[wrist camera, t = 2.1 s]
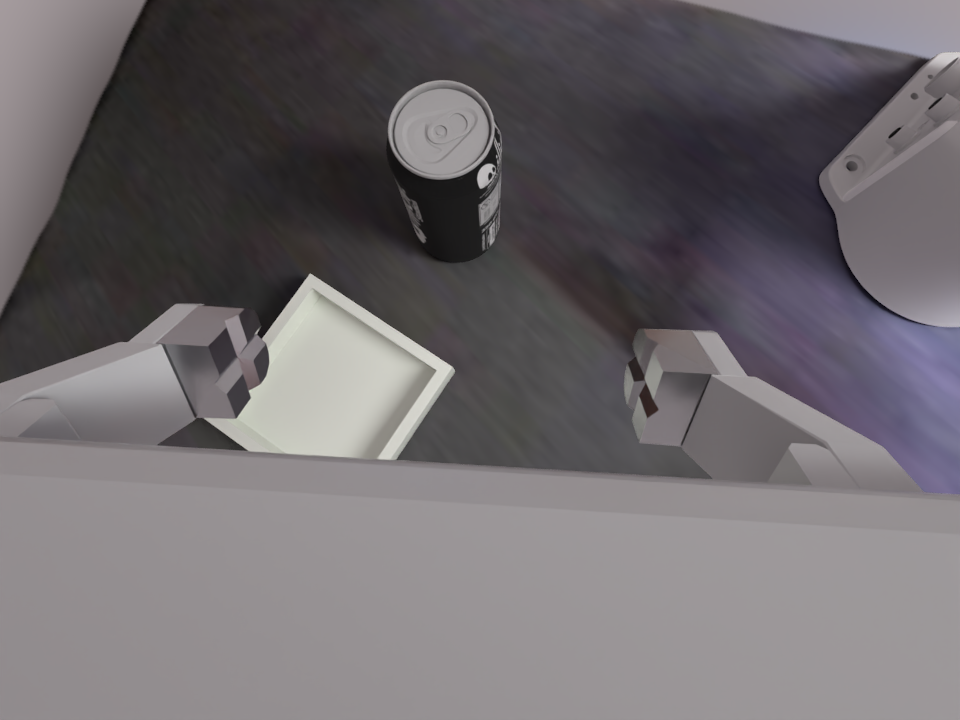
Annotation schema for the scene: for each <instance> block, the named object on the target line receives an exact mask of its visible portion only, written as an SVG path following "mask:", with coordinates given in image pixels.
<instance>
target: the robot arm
mask: <svg viewBox="0 0 960 720" xmlns="http://www.w3.org/2000/svg"><path fill="white" fill-rule="evenodd" d="M847 167H848V168H849V169H850V171H849V170H848V169H847ZM819 184H820V187H821V189H822V192H823V193H824V195H825V197H826V199H827V201H828V202H829V204H830V205H831V207H832V209H833V210H834V212H835V216H836V220H837V226H838V234H839V240H840V245H841V248H842V251H843V254H844V257H845V259H846V261H847V264H848V265H849V267H850V269H851V271H852V272H853V274H854V276H855V277H856V278H857V280H858V281H859V282H860V284H861V285H862V286H863V287H864V288H865V289H866V290H867V291H868V292H869V293H870V294H871V295H872V296H873V297H874V298H875V299H876V300H877V301H879V302H880V303H881V304H883V305H884V306H886V307H887V308H889V309H890V310H892V311H893V312H895V313H897V314H899V315H901V316H903V317H906V318H908V319H911V320H913V321H916V322H920V323H923V324H927V325H933V326H940V327H960V52H944V53H940V54H938V55H936V56H935V57H933V58H932V59H930V60H929V61H928V62H927V63H925V64H924V65H923V66H922V67H921V68H920V69H919V70H918V71H917V72H916V73H915V74H914V75H913V76H912V77H911V78H910V79H909V80H908V82H907V83H906V84H905V85H904V86H903V87H902V88H901V89H900V90H899V91H898V92H897V93H896V94H895V95H894V96H893V97H892V98H891V99H890V100H889V102H888V103H887V104H886V105H885V106H884V107H883V108H882V109H881V110H880V111H879V112H878V113H877V114H876V115H875V116H874V117H873V118H872V119H871V121H870V122H869V123H868V124H867V125H866V126H865V127H864V128H863V129H862V130H861V131H860V132H859V133H858V134H857V135H856V136H855V137H854V138H853V139H852V141H851V142H850V143H849V144H848V145H847V146H846V147H845V148H844V149H843V150H842V151H841V152H840V153H839V154H838V155H837V156H836V157H835V158H834V159H833V161H832V162H831V163H830V164H829V165H828V166H827V167H826V168H825V169H824V170H823V171H822V173H821V174H820V177H819ZM260 327H261V324H260V321H259V318H258V316H257V313H256V312H255V311H254V310H253V309H251V308H247V307H233V306H220V305H204V304H189V303H181V304H175V305H174V306H172V307H171V308H170V309H169V310H167V311H166V312H165V313H164V314H162V315H161V316H160V317H159V318H157V319H156V320H155V321H154V322H152V323H151V324H150V325H149V326H147V327H146V328H145V329H144V330H142V331H141V332H140V333H139V334H137V335H136V336H135V337H134V338H132V339H131V340H130V341H129V342H118V343H116V344H113V345H110V346H107V347H104V348H101V349H98V350H95V351H93V352H90V353H87V354H84V355H81V356H78V357H75V358H72V359H69V360H67V361H64V362H61V363H58V364H55V365H52V366H49V367H46V368H43V369H41V370H38V371H35V372H32V373H29V374H26V375H23V376H20V377H18V378H15V379H12V380H9V381H6V382H3V383H0V720H960V494H943V493H927V492H923V491H922V490H921V489H920V487H919V486H918V485H917V484H916V483H915V482H914V481H913V480H912V479H911V477H910V476H909V475H908V474H907V473H906V472H905V471H904V470H903V468H902V467H901V466H900V465H899V464H898V463H897V462H896V461H895V460H894V458H893V457H892V456H891V455H890V454H889V453H888V452H887V451H886V450H885V448H884V447H882V446H880V445H879V444H877V443H875V442H873V441H871V440H869V439H868V438H866V437H864V436H862V435H860V434H859V433H857V432H855V431H853V430H851V429H849V428H848V427H846V426H844V425H842V424H840V423H838V422H837V421H835V420H833V419H831V418H829V417H828V416H826V415H824V414H822V413H820V412H818V411H817V410H815V409H813V408H811V407H809V406H807V405H806V404H804V403H802V402H800V401H798V400H797V399H795V398H793V397H791V396H789V395H787V394H786V393H784V392H782V391H780V390H778V389H776V388H775V387H773V386H771V385H769V384H767V383H766V382H764V381H762V380H760V379H758V378H756V377H748V376H747V375H746V374H745V372H744V371H743V369H742V368H741V366H740V365H739V364H738V362H737V361H736V359H735V358H734V356H733V355H732V354H731V352H730V351H729V349H728V348H727V346H726V345H725V344H724V342H723V341H722V339H721V338H720V336H719V335H718V333H716V332H714V331H698V330H663V329H639V330H638V332H637V333H636V335H635V338H634V342H633V345H632V347H633V349H634V352H635V355H636V357H634V358H633V359H632V360H631V361H630V362H629V363H628V364H627V368H626V372H625V377H624V394H625V399H626V403H627V406H629V407H630V408H631V409H633V410H634V415H633V418H632V422H633V425H634V428H635V431H636V434H637V437H638V440H639V443H647V444H659V445H671V446H682V449H683V450H684V451H685V452H686V453H687V454H688V455H689V456H690V457H691V458H692V459H693V460H694V461H695V462H696V463H697V464H698V465H699V466H700V467H701V468H702V469H703V470H704V471H706V472H707V473H708V474H709V475H710V476H711V477H712V478H713V479H698V478H682V477H665V476H649V475H632V474H616V473H600V472H583V471H567V470H550V469H534V468H517V467H501V466H484V465H468V464H451V463H435V462H419V461H402V460H386V459H369V458H353V457H337V456H320V455H304V454H288V453H271V452H255V451H239V450H222V449H206V448H190V447H173V446H157V444H159V443H160V442H162V441H163V440H165V439H166V438H168V437H169V436H171V435H172V434H174V433H175V432H177V431H179V430H180V429H182V428H183V427H185V426H186V425H188V424H189V423H191V422H192V421H194V420H195V418H223V419H236V418H237V417H238V416H239V414H240V413H241V411H242V410H243V409H244V407H245V406H246V404H247V403H248V402H249V400H250V399H251V396H250V393H249V390H251V389H253V388H255V387H257V386H259V385H260V384H261V383H262V382H263V380H264V379H265V377H266V375H267V371H268V367H269V352H268V348H267V345H266V343H265V342H264V341H263V340H262V339H261V338H260V337H259V336H258V335H257V333H258V331H259V329H260Z"/></svg>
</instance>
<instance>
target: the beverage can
mask: <svg viewBox="0 0 960 720" xmlns="http://www.w3.org/2000/svg"><path fill="white" fill-rule="evenodd" d="M386 151H387V158H388V162H389V165H390V168H391V170H392V173H393V176H394V178H395V181H396V183H397V186H398V188H399V191H400V193H401V196H402V199H403V201H404V204H405V206H406V209H407V211H408V214H409V216H410V219H411V222H412V224H413V227H414V229H415V232H416V234H417V237H418V239H419V241H420V243H421V245H422V246H423V247H424V248H425V249H426V250H427V251H428V252H429V253H430V254H431V255H433V256H434V257H436V258H438V259H441V260H443V261H447V262H455V263H457V262H466V261H470V260H473V259H475V258H477V257H479V256H480V255H482V254H483V253H485V252H486V251H487V250H488V249H489V248H490V247H491V245H492V244H493V242H494V241H495V239H496V237H497V234H498V231H499V225H500V196H501V164H502V138H501V133H500V130H499V127H498V125H497V123H496V121H495V119H494V117H493V114H492V112H491V109H490V107H489V105H488V103H487V102H486V101H485V99H484V98H483V97H482V96H481V95H480V94H479V93H478V92H477V91H475V90H474V89H472V88H471V87H469V86H467V85H464V84H462V83H459V82H455V81H449V80H438V81H431V82H426V83H424V84H421V85H419V86H417V87H415V88H413V89H411V90H410V91H408V92H407V93H406V94H405V95H404V96H403V97H402V98H401V99H400V100H399V101H398V103H397V104H396V105H395V107H394V109H393V111H392V113H391V116H390V119H389V124H388V138H387V149H386Z"/></svg>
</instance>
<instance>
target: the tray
mask: <svg viewBox="0 0 960 720" xmlns="http://www.w3.org/2000/svg"><path fill="white" fill-rule="evenodd" d="M262 340H263V341H264V342H265V343H266V345H267V348H268V352H269V367H268V371H267V375H266V377H265V379H264V380H263V382H262V383H261V384H260V385H259V386H257V387H255V388H253V389H251V390H249V393H250V396H251V399H250V400H249V402H248V403H247V404H246V406H245V407H244V409H243V410H242V411H241V413H240V414H239V416H238V417H237V418H236V419H223V418H204V419H205V420H207V421H208V422H209V423H211V424H212V425H214V426H215V427H216V428H218V429H219V430H220V431H222V432H223V433H225V434H226V435H227V436H229V437H230V438H231V439H233V440H234V441H236V442H237V443H238V444H240V445H241V446H242V447H244V448H245V449H247V450H248V451H255V452H271V453H288V454H304V455H320V456H337V457H353V458H369V459H386V460H396V459H397V458H398V456H399V455H400V453H401V452H402V450H403V449H404V447H405V446H406V444H407V443H408V441H409V440H410V438H411V437H412V435H413V434H414V432H415V431H416V429H417V428H418V426H419V425H420V423H421V422H422V420H423V419H424V418H425V416H426V415H427V413H428V412H429V410H430V409H431V407H432V406H433V404H434V403H435V401H436V400H437V398H438V397H439V395H440V394H441V392H442V391H443V389H444V388H445V386H446V385H447V383H448V382H449V380H450V379H451V377H452V376H453V374H454V373H455V370H454V368H453V367H452V366H450V365H449V364H447V363H446V362H444V361H443V360H441V359H440V358H438V357H436V356H435V355H433V354H432V353H430V352H429V351H427V350H426V349H424V348H423V347H421V346H420V345H418V344H417V343H415V342H414V341H412V340H411V339H409V338H408V337H406V336H405V335H403V334H402V333H400V332H398V331H397V330H395V329H394V328H392V327H391V326H389V325H388V324H386V323H385V322H383V321H382V320H380V319H379V318H377V317H376V316H374V315H373V314H371V313H370V312H368V311H367V310H365V309H364V308H362V307H360V306H359V305H357V304H356V303H354V302H353V301H351V300H350V299H348V298H347V297H345V296H344V295H342V294H341V293H339V292H338V291H336V290H335V289H333V288H332V287H330V286H329V285H327V284H326V283H324V282H322V281H321V280H319V279H318V278H316V277H315V276H313V275H312V274H309V276H308V277H307V278H306V280H305V281H304V283H303V284H302V285H301V287H300V288H299V289H298V291H297V292H296V293H295V295H294V296H293V297H292V299H291V300H290V302H289V303H288V304H287V306H286V307H285V308H284V310H283V311H282V312H281V314H280V315H279V316H278V318H277V319H276V321H275V322H274V323H273V325H272V326H271V327H270V329H269V330H268V331H267V333H266V334H265V335H264V337H263V338H262Z"/></svg>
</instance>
